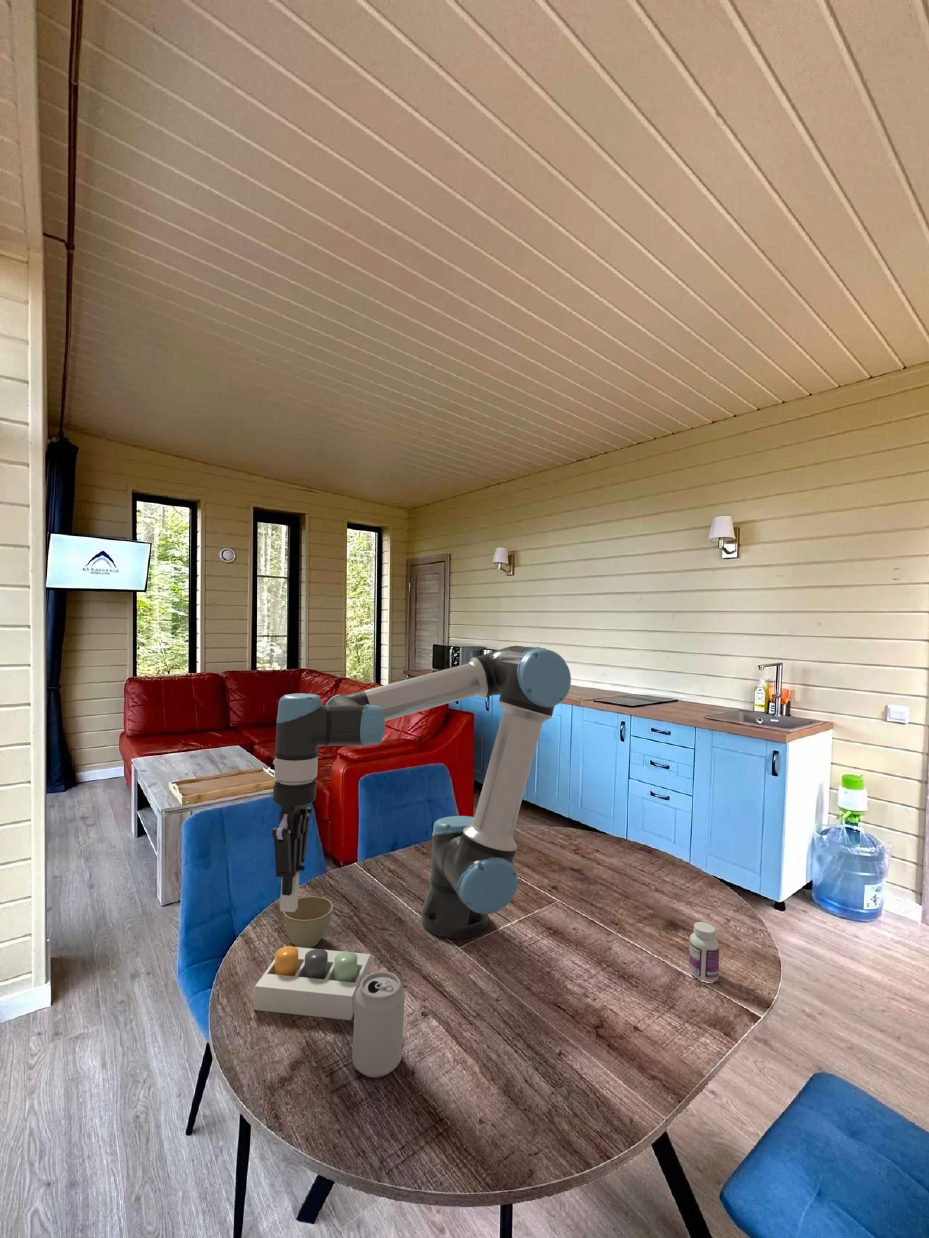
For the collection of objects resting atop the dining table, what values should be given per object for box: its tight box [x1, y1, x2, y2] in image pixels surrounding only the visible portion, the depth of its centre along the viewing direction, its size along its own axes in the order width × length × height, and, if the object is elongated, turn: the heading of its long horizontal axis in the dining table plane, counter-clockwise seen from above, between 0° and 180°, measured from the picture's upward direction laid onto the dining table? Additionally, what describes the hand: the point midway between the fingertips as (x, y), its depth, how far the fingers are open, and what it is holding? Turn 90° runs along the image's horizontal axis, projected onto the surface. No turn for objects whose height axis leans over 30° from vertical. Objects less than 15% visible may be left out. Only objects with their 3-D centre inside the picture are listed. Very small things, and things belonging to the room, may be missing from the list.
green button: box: [334, 951, 357, 983], centre depth 98 cm, size 4×4×4 cm
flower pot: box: [282, 895, 334, 949], centre depth 114 cm, size 10×10×7 cm
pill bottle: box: [688, 921, 720, 982], centre depth 108 cm, size 5×5×10 cm
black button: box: [304, 948, 328, 980], centre depth 99 cm, size 4×4×4 cm
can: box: [351, 971, 406, 1079], centre depth 83 cm, size 8×8×12 cm
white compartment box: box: [253, 945, 371, 1021], centre depth 99 cm, size 17×12×4 cm
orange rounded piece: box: [274, 945, 299, 976], centre depth 99 cm, size 4×4×4 cm
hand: (288, 909), depth 99 cm, fingers closed
